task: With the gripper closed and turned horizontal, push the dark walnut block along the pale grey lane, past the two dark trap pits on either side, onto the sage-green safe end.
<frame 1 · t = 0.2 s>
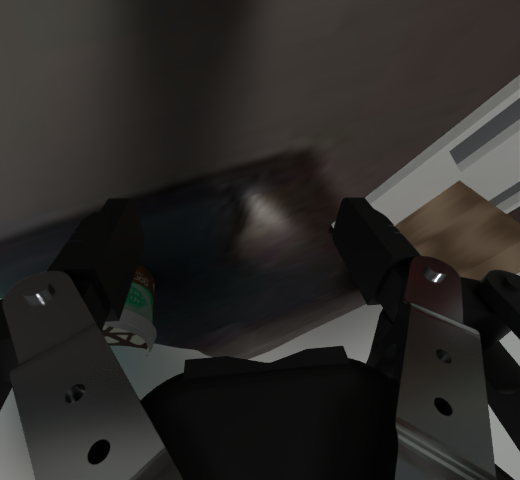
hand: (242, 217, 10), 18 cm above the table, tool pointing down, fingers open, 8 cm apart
walnut block: (415, 227, 36), point 1 cm above the table, touching trap lane
food container: (127, 268, 36), on the table
trap lane: (503, 156, 32), on the table
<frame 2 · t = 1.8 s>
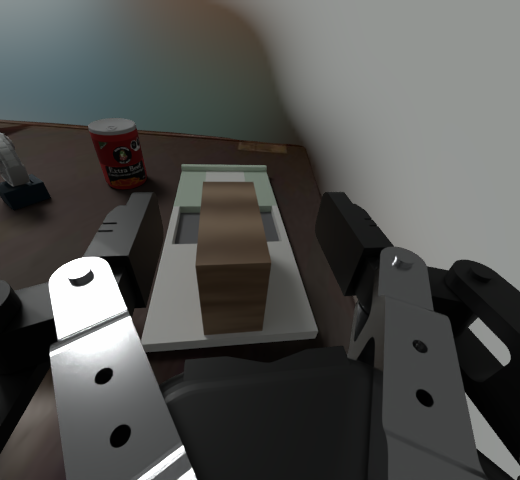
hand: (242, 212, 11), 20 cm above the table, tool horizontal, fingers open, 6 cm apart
walnut block: (230, 281, 32), point 1 cm above the table, touching trap lane
canned food: (128, 181, 53), on the table
trap lane: (227, 230, 43), on the table
watch: (27, 200, 46), on the table
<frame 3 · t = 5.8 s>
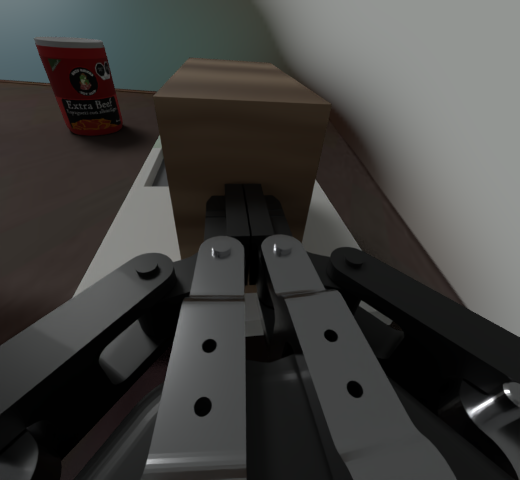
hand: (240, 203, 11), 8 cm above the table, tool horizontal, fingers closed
walnut block: (234, 223, 20), point 2 cm above the table, touching gripper, trap lane
canned food: (97, 129, 41), on the table
trap lane: (229, 177, 30), on the table
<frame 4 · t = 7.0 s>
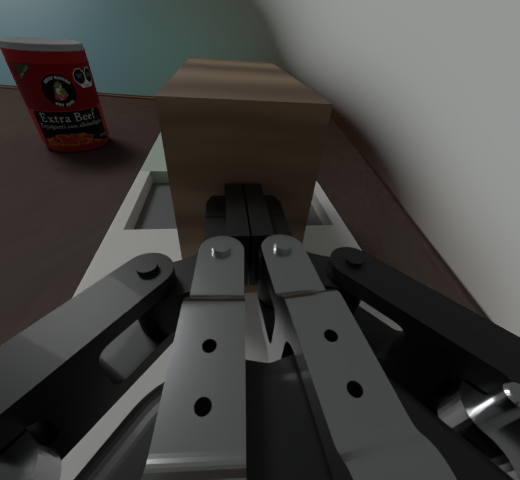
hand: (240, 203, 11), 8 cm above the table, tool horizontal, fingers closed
walnut block: (235, 222, 20), point 1 cm above the table, touching trap lane
canned food: (79, 143, 35), on the table
trap lane: (231, 208, 25), on the table
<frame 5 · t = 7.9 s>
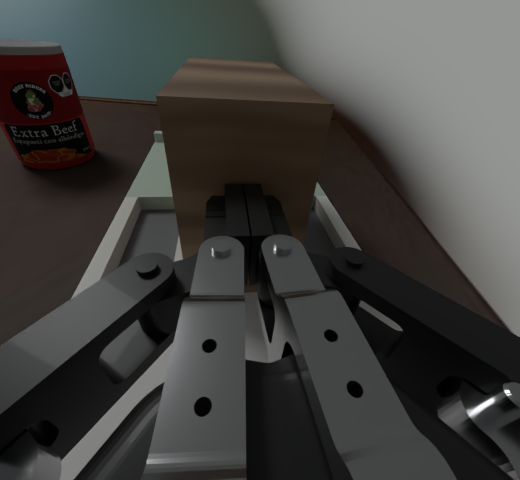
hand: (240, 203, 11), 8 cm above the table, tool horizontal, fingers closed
walnut block: (235, 222, 20), point 2 cm above the table
canned food: (61, 158, 31), on the table
trap lane: (234, 244, 21), on the table
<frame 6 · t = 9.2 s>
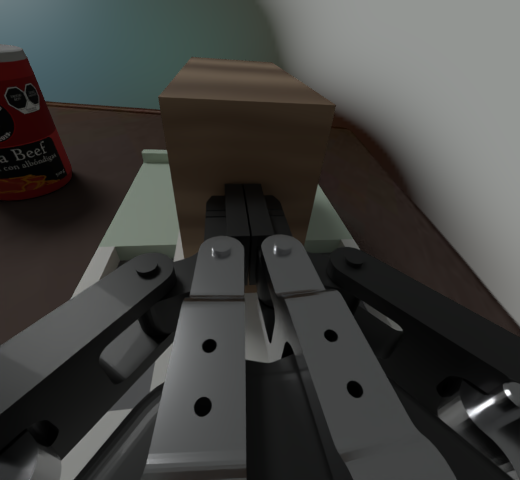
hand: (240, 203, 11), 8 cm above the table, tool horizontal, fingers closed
walnut block: (236, 223, 20), point 2 cm above the table, touching gripper
canned food: (31, 184, 26), on the table
trap lane: (239, 314, 16), on the table
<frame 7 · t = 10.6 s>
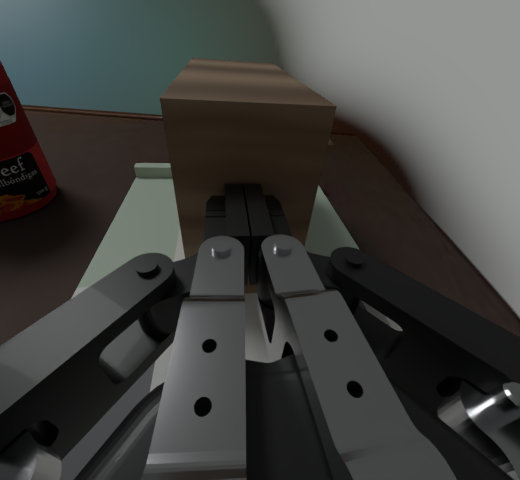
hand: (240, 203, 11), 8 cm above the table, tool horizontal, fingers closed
walnut block: (237, 223, 20), point 1 cm above the table, touching gripper, trap lane
canned food: (11, 202, 24), on the table
trap lane: (243, 374, 13), on the table
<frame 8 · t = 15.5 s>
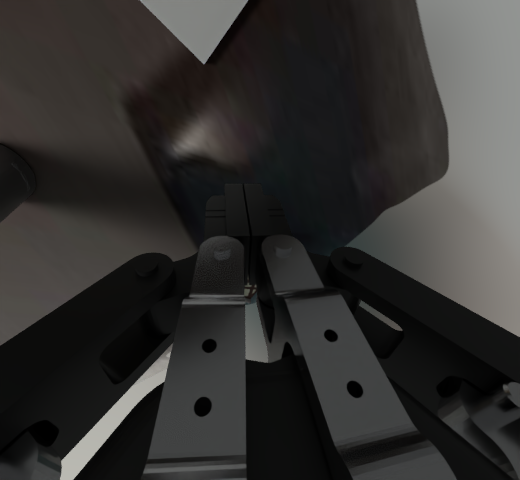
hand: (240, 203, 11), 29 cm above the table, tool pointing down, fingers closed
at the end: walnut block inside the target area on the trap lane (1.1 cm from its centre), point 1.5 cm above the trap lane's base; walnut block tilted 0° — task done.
